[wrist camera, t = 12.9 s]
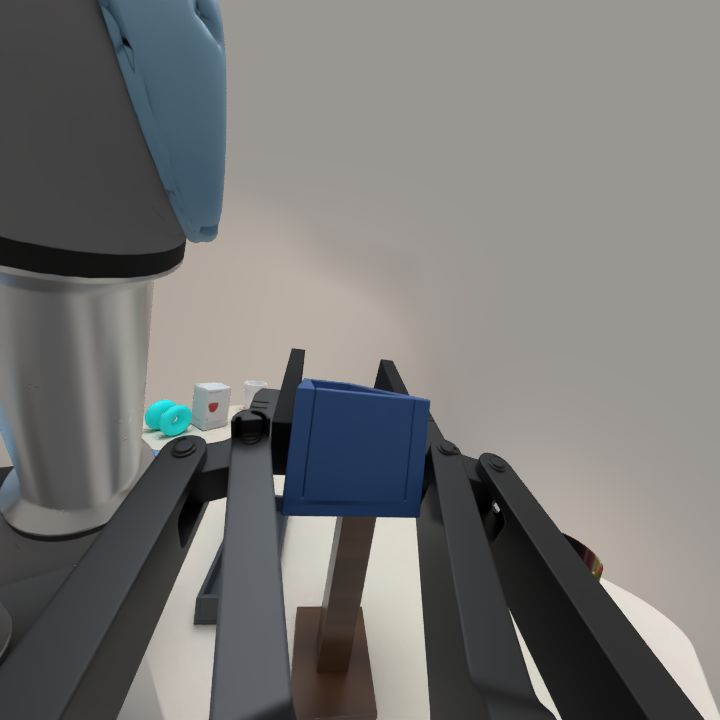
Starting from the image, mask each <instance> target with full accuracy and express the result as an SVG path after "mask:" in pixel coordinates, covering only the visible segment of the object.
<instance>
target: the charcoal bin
mask: <svg viewBox="0 0 720 720" xmlns="http://www.w3.org/2000/svg"><path fill="white" fill-rule="evenodd" d="M282 499H283V496H280V495H275V503H276V515H277V526H278V538H279V549H280V560H281V554H282V548H283V542H284V536H285V530H286V525H287V519H288V516H282V515H281V507H282ZM222 552H223V541H222V543H221V545H220V547H219V550H218V552H217V554H216V556H215V558H214V561H213V563H212V565H211V567H210V569H209V572H208V574H207V576H206V578H205V581H204V583H203V585H202V587H201V589H200V592H199V594H198V596H197V598H196V607H195V616H194V624H217V614H218V602H219V589H220V577H221V564H222Z"/></svg>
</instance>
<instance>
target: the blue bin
mask: <svg viewBox="0 0 720 720" xmlns="http://www.w3.org/2000/svg"><path fill="white" fill-rule="evenodd" d="M429 409H430V400H427V399H423V398H418V397H413V396H408V395H404V394H399V393H394V392H389V391H384V390H380V389H375V388H370V387H365V386H360V385H356V384H351V383H343V382H334V381H324V380H315V379H306V378H304V379H303V381H302V382H301V383H300V384H299V386H298V387H297V389H296V397H295V405H294V413H293V421H292V428H291V436H290V444H289V452H288V460H287V468H286V475H285V483H284V491H283V499H282V507H281V515H282V516H339V517H404V518H419V517H420V508H421V497H422V486H423V475H424V464H425V453H426V442H427V431H428V420H429Z"/></svg>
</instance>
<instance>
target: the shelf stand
mask: <svg viewBox="0 0 720 720" xmlns="http://www.w3.org/2000/svg"><path fill="white" fill-rule="evenodd" d="M375 522H376V517H339V516H337V520H336V526H335V532H334V538H333V544H332V550H331V555H330V561H329V567H328V573H327V579H326V585H325V591H324V597H323V603H322V607H297V612H296V624H295V636H294V648H293V660H292V672H291V688H292V698H293V705H294V709H295V713H296V717H297V720H376V719H377V709H376V702H375V695H374V688H373V681H372V674H371V668H370V661H369V654H368V647H367V640H366V633H365V626H364V619H363V612H362V607H360V603H361V598H362V592H363V587H364V582H365V576H366V571H367V565H368V560H369V555H370V549H371V544H372V538H373V533H374V528H375Z"/></svg>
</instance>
